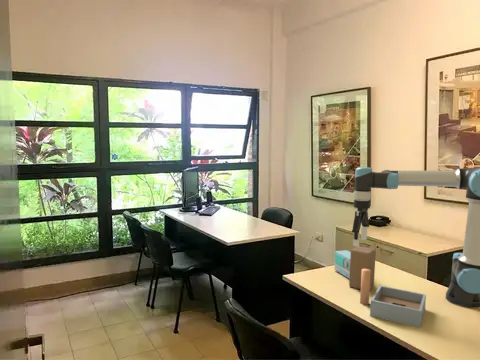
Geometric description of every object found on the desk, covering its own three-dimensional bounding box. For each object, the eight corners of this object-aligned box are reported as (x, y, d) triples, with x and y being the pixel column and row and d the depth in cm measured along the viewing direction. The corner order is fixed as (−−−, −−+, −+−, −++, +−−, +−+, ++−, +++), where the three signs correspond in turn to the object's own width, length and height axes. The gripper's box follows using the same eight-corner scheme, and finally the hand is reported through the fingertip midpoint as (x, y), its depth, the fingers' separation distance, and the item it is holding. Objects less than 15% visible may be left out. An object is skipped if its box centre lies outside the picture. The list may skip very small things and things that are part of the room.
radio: (332, 271, 223) (333, 237, 221) (346, 269, 226) (347, 236, 224) (347, 281, 208) (349, 244, 206) (362, 279, 211) (364, 243, 209)
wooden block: (356, 281, 208) (357, 245, 205) (374, 286, 201) (376, 249, 199) (348, 286, 200) (350, 249, 198) (367, 292, 194) (369, 253, 191)
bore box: (425, 309, 175) (426, 294, 174) (420, 327, 158) (421, 311, 157) (378, 299, 185) (379, 285, 184) (369, 315, 168) (370, 300, 167)
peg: (369, 302, 181) (371, 269, 179) (367, 305, 178) (369, 272, 176) (361, 300, 183) (362, 268, 181) (359, 303, 180) (360, 270, 178)
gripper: (361, 195, 197) (359, 236, 200) (346, 202, 176) (344, 247, 179) (376, 197, 193) (374, 238, 196) (363, 204, 172) (360, 250, 175)
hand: (360, 242), depth 187 cm, fingers open, 13 cm apart
